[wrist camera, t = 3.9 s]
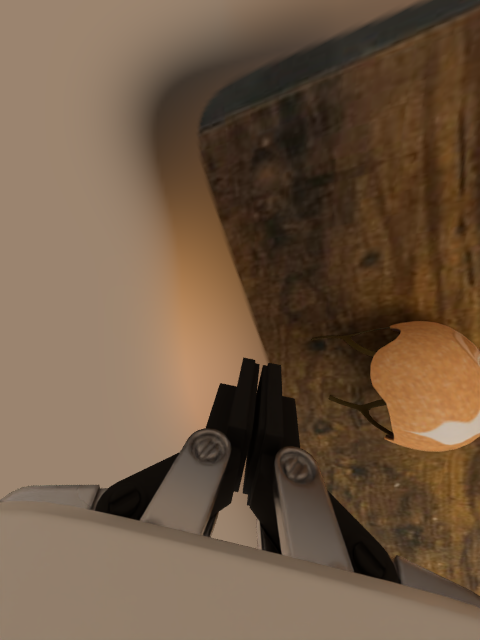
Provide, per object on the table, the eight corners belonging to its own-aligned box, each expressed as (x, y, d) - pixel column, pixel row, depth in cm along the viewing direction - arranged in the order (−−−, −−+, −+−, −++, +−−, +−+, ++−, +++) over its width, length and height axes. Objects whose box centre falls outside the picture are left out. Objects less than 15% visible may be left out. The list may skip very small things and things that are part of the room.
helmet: (352, 371, 20) (501, 394, 14) (309, 437, 16) (493, 508, 10) (335, 303, 18) (499, 296, 12) (281, 358, 14) (488, 388, 8)
